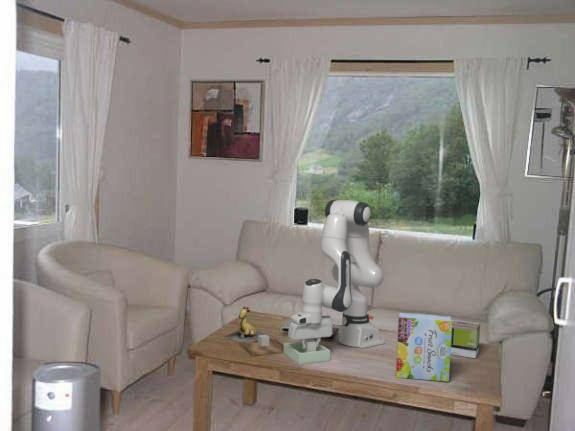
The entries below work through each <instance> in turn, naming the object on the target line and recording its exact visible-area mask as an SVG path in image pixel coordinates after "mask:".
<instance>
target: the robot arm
mask: <svg viewBox="0 0 575 431" xmlns="http://www.w3.org/2000/svg"><path fill="white" fill-rule="evenodd" d="M324 215H325V221H324V223H323V227H322V232H321V236H320V237H321V238H320V249H321V251H322V253H323V254H324V255H325V257H327V258H328V259H330V261H332V262H333V263H334V265H333V267H332V270H331V273H332V278H333V280H335V282H337V287H336V286H331V285H328V284H326V283H323V281H322V280H321V279H318V278H311V279H308V280H305V282H304V285H303V290H302V295H301V296H302V300H301V301H302V307H301V311H299V312H297V313H294V314H292V315H291V317H290V322H289V326H288V333H287V336H288V338H289V339H290V340H292V341H298V340H299V342H301V343H302V348H303V349H307V345H306V344H305V343H304V341H306V340H312V339H315V340H314V341H315V342H316V348H317V347H318V343H319V344H320V342H321V340H322V339H321V338H329V337H331V336H332V335H333V318H332V316H331V315H323V307H324V308H326V309H327V308H328V309H330V310H333V311H336V312H340V313H342V316H341V317H342V320H341V321H342V322H341V323H342V324H341V325H342V327H341V332H340V336H339V339H338V342H339V343H340V344H342V345H344V346H348V347H349V346H350V347H355V348H361V349H365V348H371V347H374V346H378V345H383V344H385V343H386V342H385V339H384V338H382V337H381V333H380V332H381V331H380V329H379V328H378V327H377V326H376V325H375V324H373V323H372V321H373V320H374V319H375V316H374V315H372V314H368V313H367V312H368V298H367V296H366V295H365V294H364V293H363V292H362V291H361V290H360V288H359V287H363V288H378V287H379V286H380V285H382V283H383V281H384V271H383V269H382V268H381V267H380V266H379V265H378V264H377V263H376V261H375V260H374V258H373V257H372V254H371V249H370V226H369V221H371V218H372V209H371V207H370V206H369V204H368V203H367V202H363V201H358V200H352V199H330V200H329V201H328V202H327V204H326V205H325V206H324ZM351 257H352V258H353V260H354V261H352V260H351ZM370 320H372V321H370Z"/></svg>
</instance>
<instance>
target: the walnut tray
mask: <svg viewBox="0 0 575 431" xmlns="http://www.w3.org/2000/svg"><path fill="white" fill-rule="evenodd" d="M238 342H239V341H238ZM239 347H240V348H242V349H243V350H244V351H246V352H247V353H248V354H249V355H250V356H251V357H258V356H265V355H267V356H268V355H275V354H276V355H277V354H283V352H284V343H283V342H281V341H279V340H278V339H276V338H275V337H274V338H269V346H260V345H259V344H258V340H255V339H254V340H253V341H248V340H247V341H243V342H239Z"/></svg>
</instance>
